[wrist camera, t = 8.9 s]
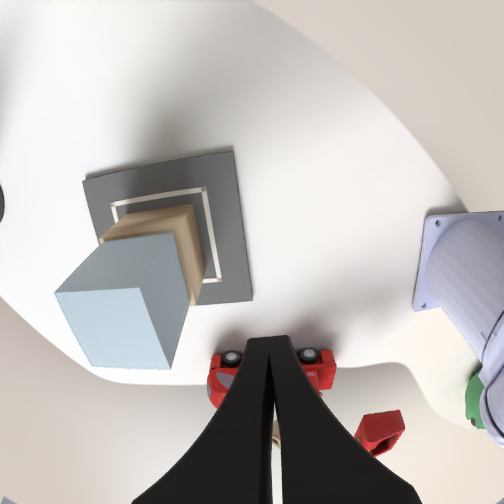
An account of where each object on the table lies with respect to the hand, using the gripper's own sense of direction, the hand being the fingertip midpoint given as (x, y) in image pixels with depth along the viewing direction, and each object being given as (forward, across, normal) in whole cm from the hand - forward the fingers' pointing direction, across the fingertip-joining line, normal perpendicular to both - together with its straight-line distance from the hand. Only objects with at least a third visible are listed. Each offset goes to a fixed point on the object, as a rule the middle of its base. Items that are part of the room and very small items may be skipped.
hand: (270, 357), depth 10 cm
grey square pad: (+10, +6, -1) cm, 12 cm away
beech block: (+10, +6, -1) cm, 11 cm away
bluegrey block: (+6, +6, -1) cm, 8 cm away
